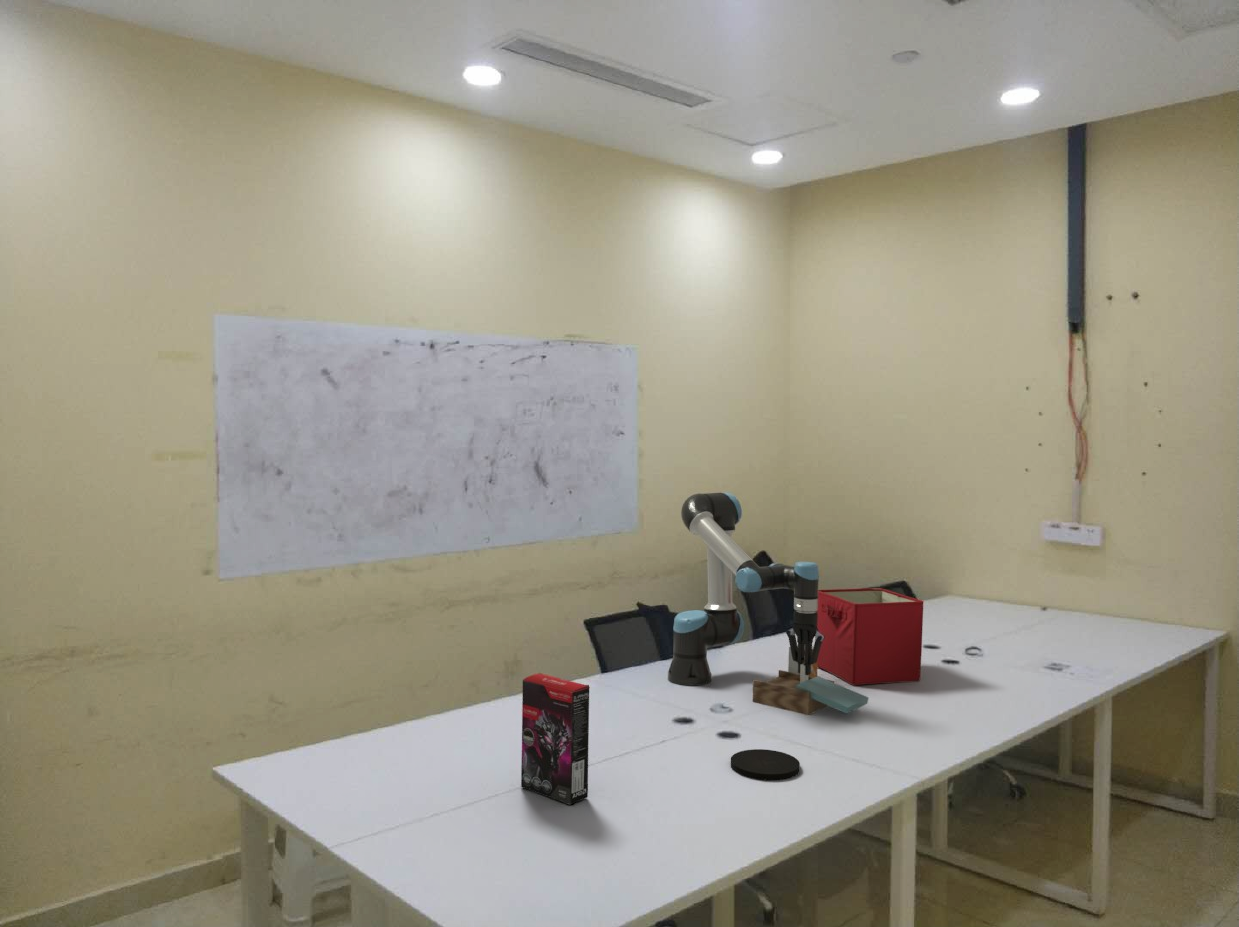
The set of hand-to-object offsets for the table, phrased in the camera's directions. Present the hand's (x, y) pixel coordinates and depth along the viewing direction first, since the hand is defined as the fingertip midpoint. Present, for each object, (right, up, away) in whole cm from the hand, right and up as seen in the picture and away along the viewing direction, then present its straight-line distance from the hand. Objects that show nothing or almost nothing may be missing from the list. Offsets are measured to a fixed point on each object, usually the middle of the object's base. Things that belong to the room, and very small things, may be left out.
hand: (804, 684), depth 298 cm
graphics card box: (-75, -9, -73) cm, 105 cm away
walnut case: (-3, -7, +3) cm, 8 cm away
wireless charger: (-21, -9, -54) cm, 59 cm away
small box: (+4, -6, +24) cm, 25 cm away
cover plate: (+7, -3, -6) cm, 10 cm away
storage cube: (+30, -6, +39) cm, 49 cm away
